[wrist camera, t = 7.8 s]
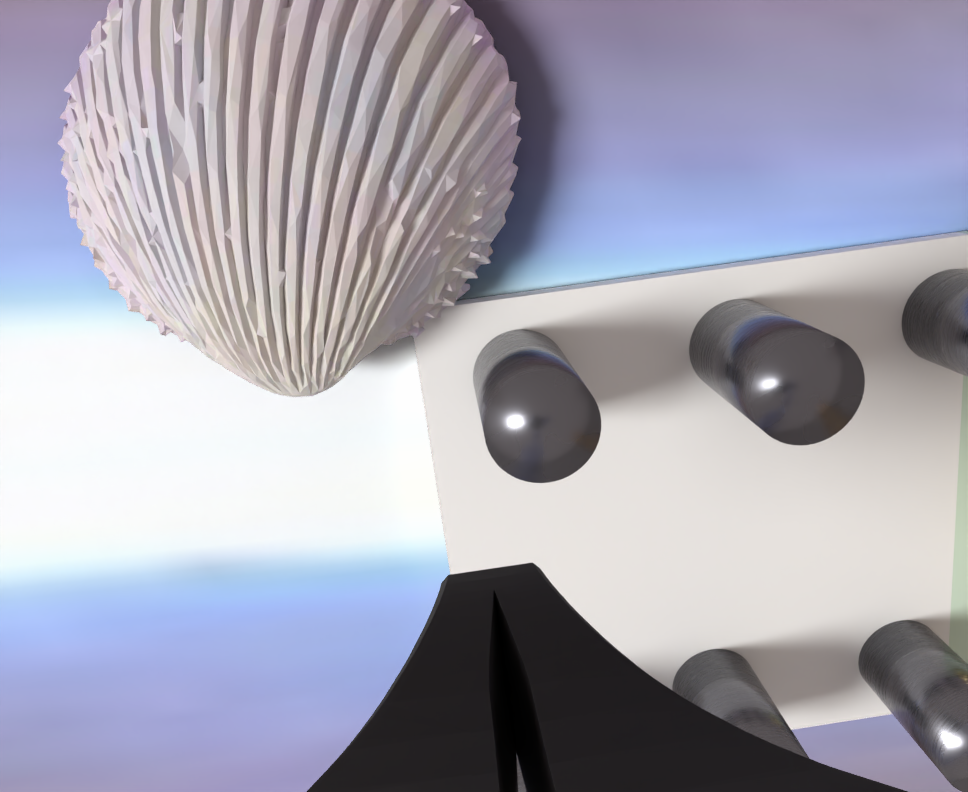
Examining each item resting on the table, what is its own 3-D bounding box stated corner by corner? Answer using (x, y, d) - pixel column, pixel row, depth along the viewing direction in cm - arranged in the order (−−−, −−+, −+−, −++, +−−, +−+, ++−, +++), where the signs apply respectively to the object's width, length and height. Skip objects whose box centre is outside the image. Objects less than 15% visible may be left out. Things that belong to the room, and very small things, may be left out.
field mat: (1122, 663, 25) (1139, 675, 24) (481, 762, 24) (481, 777, 24) (1182, 200, 21) (1204, 202, 20) (409, 307, 20) (409, 311, 19)
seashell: (45, 447, 17) (-132, -116, 12) (142, 345, 22) (41, -85, 17) (532, 433, 17) (532, -138, 12) (520, 334, 22) (517, -100, 17)
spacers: (969, 679, 24) (1074, 780, 20) (488, 753, 23) (501, 871, 20) (996, 262, 20) (1129, 288, 16) (426, 341, 20) (426, 387, 16)
